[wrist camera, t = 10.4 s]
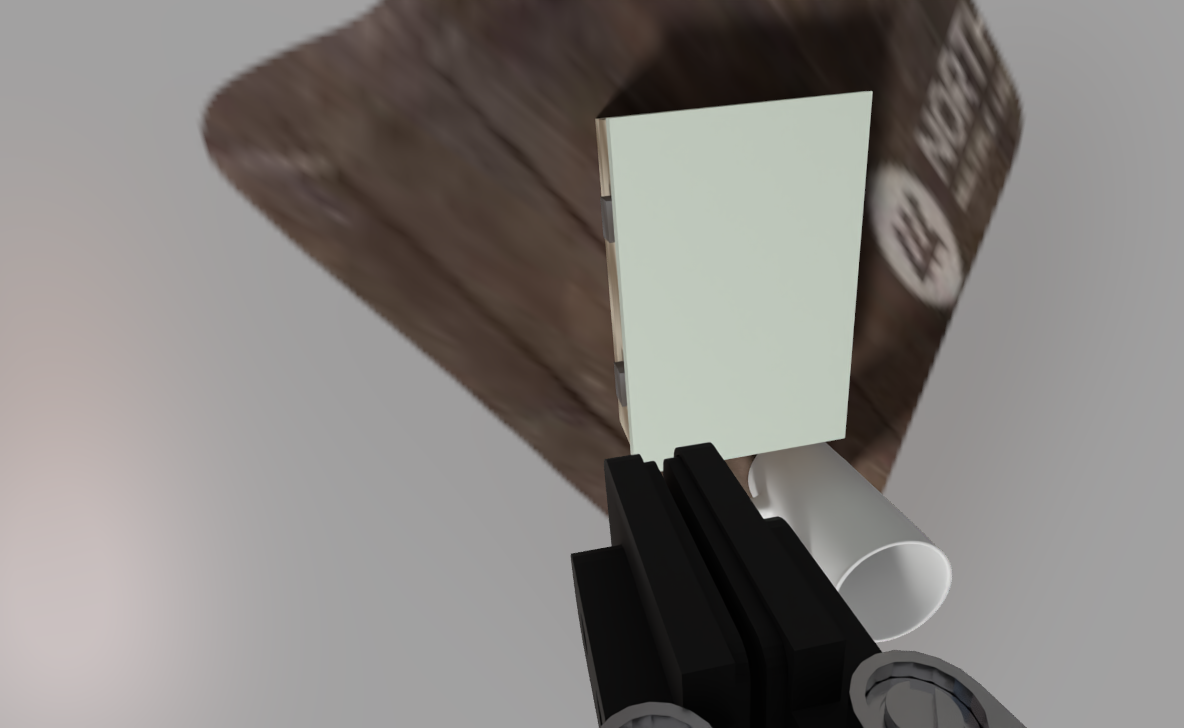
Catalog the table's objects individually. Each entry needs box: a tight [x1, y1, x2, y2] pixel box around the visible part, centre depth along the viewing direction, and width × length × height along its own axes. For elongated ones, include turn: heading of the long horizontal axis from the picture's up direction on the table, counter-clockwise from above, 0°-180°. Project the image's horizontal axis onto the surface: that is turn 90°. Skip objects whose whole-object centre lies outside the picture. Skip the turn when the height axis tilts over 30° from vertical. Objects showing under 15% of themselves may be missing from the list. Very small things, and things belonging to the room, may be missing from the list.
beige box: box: [595, 96, 812, 443], centre depth 35 cm, size 18×13×5 cm
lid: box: [606, 91, 873, 471], centre depth 32 cm, size 18×12×1 cm
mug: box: [748, 442, 952, 642], centre depth 38 cm, size 10×7×12 cm, turn 95°
